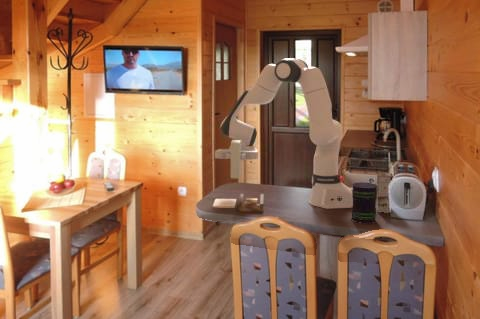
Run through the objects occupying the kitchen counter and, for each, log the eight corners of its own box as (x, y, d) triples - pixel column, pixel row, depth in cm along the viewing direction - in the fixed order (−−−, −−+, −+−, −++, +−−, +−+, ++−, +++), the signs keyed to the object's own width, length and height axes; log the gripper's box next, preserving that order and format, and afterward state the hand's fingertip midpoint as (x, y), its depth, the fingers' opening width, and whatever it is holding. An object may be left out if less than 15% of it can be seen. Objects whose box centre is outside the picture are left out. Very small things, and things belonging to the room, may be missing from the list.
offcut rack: (263, 201, 235) (263, 194, 234) (263, 211, 217) (263, 203, 216) (240, 200, 235) (240, 193, 235) (238, 211, 217) (238, 203, 217)
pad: (236, 200, 236) (236, 199, 236) (234, 207, 223) (234, 206, 223) (215, 200, 236) (215, 198, 236) (212, 207, 224) (212, 205, 223)
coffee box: (392, 213, 214) (394, 177, 211) (376, 212, 215) (378, 176, 213) (390, 207, 223) (392, 172, 220) (375, 207, 224) (377, 172, 221)
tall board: (240, 173, 232) (240, 140, 229) (239, 178, 222) (239, 143, 220) (232, 173, 232) (232, 140, 230) (230, 178, 223) (230, 143, 220)
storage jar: (373, 217, 208) (374, 182, 206) (378, 224, 199) (379, 188, 196) (349, 216, 209) (350, 182, 207) (353, 223, 199) (354, 187, 197)
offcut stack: (257, 208, 222) (257, 198, 221) (257, 210, 219) (257, 200, 218) (244, 208, 222) (244, 198, 221) (244, 210, 219) (244, 199, 218)
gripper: (216, 145, 239) (212, 149, 225) (258, 146, 237) (257, 150, 224) (216, 158, 240) (213, 163, 226) (258, 158, 239) (257, 164, 225)
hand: (235, 157), depth 225 cm, fingers closed on tall board, 4 cm apart
